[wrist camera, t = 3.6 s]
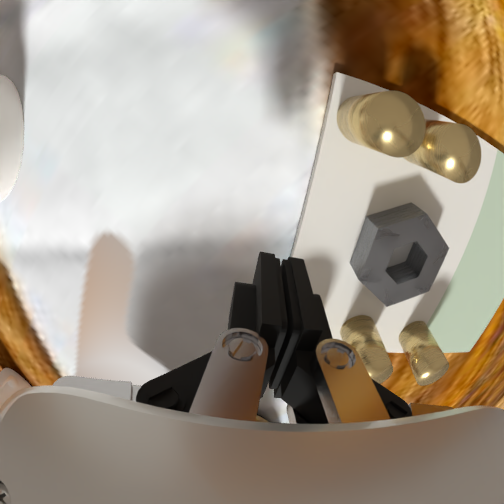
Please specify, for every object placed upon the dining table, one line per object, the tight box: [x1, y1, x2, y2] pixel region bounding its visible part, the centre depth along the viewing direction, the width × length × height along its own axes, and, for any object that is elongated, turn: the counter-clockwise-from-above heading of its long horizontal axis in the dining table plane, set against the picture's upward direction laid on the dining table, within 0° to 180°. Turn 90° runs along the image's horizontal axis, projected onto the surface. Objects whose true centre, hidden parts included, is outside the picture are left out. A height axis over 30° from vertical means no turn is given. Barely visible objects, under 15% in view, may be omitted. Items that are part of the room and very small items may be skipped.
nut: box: [350, 202, 449, 307], centre depth 17 cm, size 6×7×2 cm
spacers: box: [337, 90, 481, 385], centre depth 16 cm, size 14×18×5 cm
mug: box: [0, 368, 32, 407], centre depth 28 cm, size 9×12×11 cm
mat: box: [290, 72, 504, 353], centre depth 19 cm, size 24×20×1 cm
